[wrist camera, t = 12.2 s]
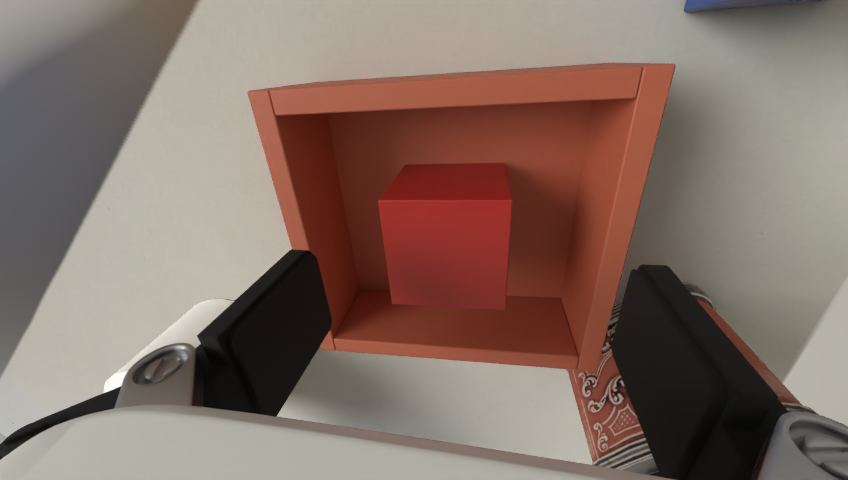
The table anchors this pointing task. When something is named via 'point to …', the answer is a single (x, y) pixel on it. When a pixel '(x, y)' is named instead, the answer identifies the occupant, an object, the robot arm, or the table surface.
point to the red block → (448, 235)
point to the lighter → (612, 409)
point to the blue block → (732, 4)
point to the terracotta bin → (462, 144)
